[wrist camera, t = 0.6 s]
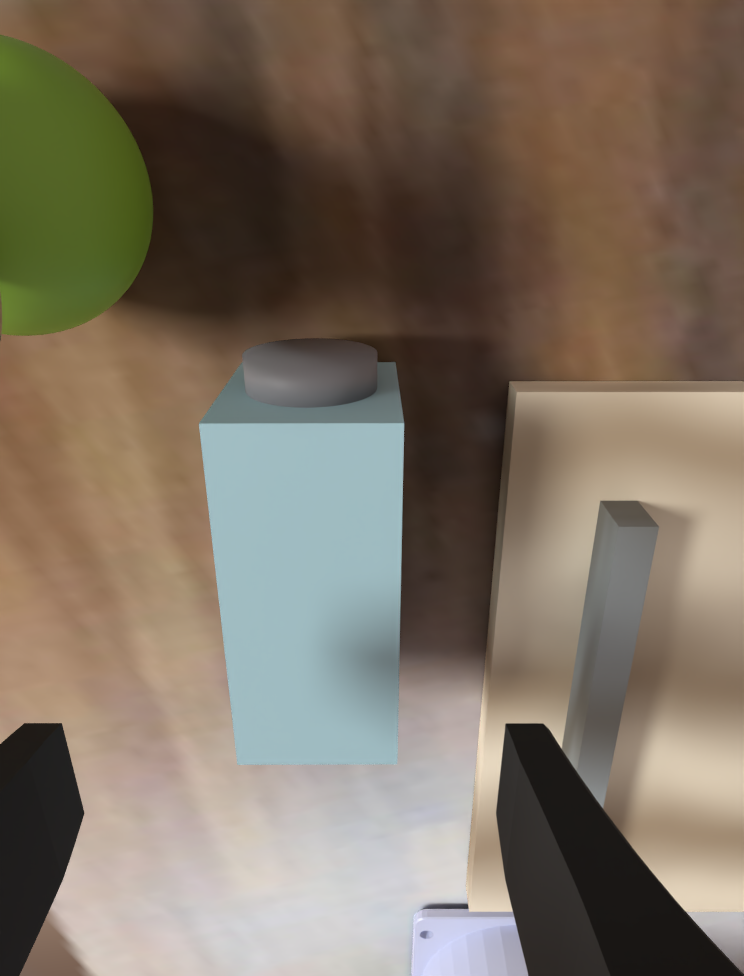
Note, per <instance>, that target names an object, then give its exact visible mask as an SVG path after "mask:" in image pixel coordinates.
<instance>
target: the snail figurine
mask: <svg viewBox="0 0 744 976" xmlns="http://www.w3.org/2000/svg"><path fill="white" fill-rule="evenodd" d="M152 226H153V199H152V191H151V185H150V180H149V176H148V172H147V169H146V166H145V163H144V160H143V157H142V154H141V152H140V150H139V147H138V145H137V143H136V141H135V139H134V137H133V135H132V133H131V132H130V130H129V128H128V127H127V125H126V123H125V122H124V120H123V119H122V117H121V116H120V115H119V113H118V112H117V111H116V109H115V108H114V107H113V105H112V104H111V103H110V102H109V101H108V99H107V98H106V97H105V96H104V95H103V94H102V93H101V92H100V91H99V90H98V89H97V88H96V87H95V86H94V85H93V84H92V83H91V82H90V81H89V80H88V79H86V78H85V77H84V76H83V75H82V74H80V73H79V72H78V71H76V70H75V69H74V68H72V67H71V66H70V65H68V64H67V63H65V62H64V61H62V60H60V59H59V58H57V57H55V56H54V55H52V54H50V53H48V52H46V51H44V50H42V49H40V48H38V47H36V46H33V45H31V44H29V43H26V42H23V41H20V40H18V39H14V38H11V37H7V36H3V35H0V340H1V334H7V335H22V336H29V335H43V334H50V333H56V332H60V331H64V330H67V329H71V328H74V327H76V326H79V325H81V324H83V323H86V322H88V321H90V320H92V319H93V318H95V317H97V316H98V315H100V314H101V313H103V312H104V311H106V310H107V309H108V308H110V307H111V306H112V305H113V304H114V303H115V302H116V301H118V300H119V298H120V297H121V296H122V295H123V294H124V293H125V292H126V291H127V289H128V288H129V287H130V286H131V284H132V283H133V281H134V280H135V278H136V276H137V275H138V273H139V271H140V269H141V267H142V265H143V262H144V260H145V257H146V254H147V251H148V248H149V244H150V240H151V234H152Z"/></svg>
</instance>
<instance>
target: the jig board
mask: <svg viewBox="0 0 744 976" xmlns="http://www.w3.org/2000/svg"><path fill="white" fill-rule="evenodd" d="M506 723H543V724H544V725H545V726H547V727H548V728H549V730H550V731H551V733H552V734H553V736H554V738H555V739H556V741H557V742H558V744H559V745H560V747H561V749H562V750H563V752H564V753H565V755H566V756H567V758H568V759H569V761H570V762H571V764H572V765H573V767H574V768H575V770H576V771H577V773H578V774H579V776H580V777H581V778H582V780H583V781H584V783H585V784H586V786H587V787H588V788H589V790H590V791H591V793H592V794H593V796H594V797H595V798H596V800H597V801H598V802H599V804H600V805H601V807H602V808H603V809H604V811H605V812H606V813H607V815H608V816H609V817H610V819H611V820H612V821H613V823H614V824H615V825H616V827H617V828H618V829H619V830H620V832H621V833H622V834H623V836H624V837H625V838H626V840H627V841H628V842H629V844H630V845H631V846H632V848H633V849H634V850H635V851H636V853H637V854H638V855H639V856H640V858H641V859H642V860H643V861H644V863H645V864H646V865H647V866H648V868H649V869H650V870H651V871H652V873H653V874H654V875H655V876H656V877H657V878H658V880H659V881H660V882H661V883H662V884H663V886H664V887H665V888H666V889H667V890H668V892H669V893H670V894H671V895H672V896H673V898H674V899H675V900H676V901H677V902H678V903H679V905H680V906H681V907H682V908H683V909H684V910H685V911H686V912H744V381H509V392H508V403H507V415H506V427H505V438H504V450H503V461H502V473H501V485H500V496H499V508H498V519H497V531H496V542H495V554H494V566H493V577H492V589H491V600H490V612H489V624H488V635H487V647H486V658H485V670H484V682H483V693H482V705H481V716H480V728H479V740H478V751H477V763H476V774H475V786H474V798H473V809H472V821H471V832H470V844H469V855H468V867H467V879H466V891H467V899H468V906H469V912H513V910H512V906H511V902H510V898H509V894H508V889H507V885H506V881H505V875H504V868H503V861H502V854H501V847H500V840H499V833H498V825H497V818H496V808H497V798H498V789H499V780H500V770H501V761H502V752H503V743H504V733H505V724H506Z"/></svg>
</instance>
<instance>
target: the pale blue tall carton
mask: <svg viewBox="0 0 744 976" xmlns="http://www.w3.org/2000/svg"><path fill="white" fill-rule="evenodd" d="M242 357H243V362H242V363H241V364H240V366H239V367H238V369H237V370H236V372H235V373H234V374H233V376H232V377H231V379H230V380H229V382H228V383H227V384H226V386H225V387H224V389H223V390H222V391H221V393H220V394H219V396H218V397H217V399H216V400H215V401H214V403H213V404H212V406H211V407H210V409H209V410H208V411H207V413H206V414H205V416H204V417H203V419H202V420H201V421H200V423H199V428H200V437H201V446H202V455H203V464H204V472H205V481H206V490H207V499H208V508H209V517H210V526H211V534H212V543H213V552H214V561H215V570H216V579H217V587H218V596H219V605H220V614H221V623H222V632H223V640H224V649H225V658H226V667H227V676H228V685H229V694H230V702H231V711H232V720H233V729H234V738H235V747H236V755H237V764H238V765H301V764H397V751H398V702H399V653H400V604H401V554H402V505H403V456H404V419H403V411H402V404H401V397H400V390H399V383H398V376H397V369H396V362H377V350H376V349H375V348H373V347H371V346H369V345H366V344H363V343H359V342H354V341H348V340H339V339H319V338H312V339H291V340H282V341H275V342H269V343H265V344H261V345H257V346H254V347H252V348H249V349H247V350H246V351H245V352H244V353H243V355H242Z"/></svg>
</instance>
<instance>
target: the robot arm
mask: <svg viewBox="0 0 744 976" xmlns="http://www.w3.org/2000/svg"><path fill="white" fill-rule="evenodd" d="M83 816H84V810H83V806H82V802H81V798H80V794H79V790H78V786H77V782H76V778H75V774H74V770H73V766H72V762H71V758H70V754H69V750H68V746H67V742H66V738H65V734H64V730H63V726H62V723H24V724H23V725H22V726H21V727H20V728H18V729H17V730H16V731H15V732H14V733H13V734H11V735H10V736H9V737H8V738H7V739H6V740H5V741H3V742H2V743H1V744H0V976H19V975H20V973H21V971H22V969H23V966H24V964H25V962H26V960H27V958H28V956H29V953H30V951H31V949H32V947H33V945H34V943H35V940H36V938H37V936H38V934H39V932H40V929H41V927H42V925H43V923H44V921H45V918H46V916H47V914H48V912H49V909H50V907H51V905H52V903H53V901H54V898H55V896H56V894H57V892H58V889H59V887H60V885H61V882H62V880H63V877H64V875H65V872H66V869H67V866H68V863H69V860H70V857H71V854H72V851H73V848H74V845H75V842H76V838H77V835H78V832H79V829H80V826H81V822H82V819H83ZM496 818H497V825H498V833H499V840H500V847H501V854H502V861H503V868H504V875H505V881H506V885H507V889H508V894H509V898H510V902H511V906H512V910H513V912H469V909H422V910H420V911H418V912H417V913H416V914H415V915H414V918H413V943H412V969H411V976H744V974H743V973H742V972H741V971H740V970H739V969H738V968H737V967H736V966H735V965H734V964H733V963H732V962H731V961H730V960H729V958H728V957H727V956H726V955H725V954H724V953H723V952H722V951H721V950H720V949H719V948H718V947H717V946H716V945H715V944H714V943H713V941H712V940H711V939H710V938H709V937H708V936H707V935H706V934H705V933H704V932H703V931H702V929H701V928H700V927H699V926H698V925H697V924H696V923H695V922H694V921H693V919H692V918H691V917H690V916H689V915H688V914H687V913H686V911H685V910H684V909H683V908H682V907H681V906H680V905H679V903H678V902H677V901H676V900H675V899H674V898H673V896H672V895H671V894H670V893H669V892H668V890H667V889H666V888H665V887H664V886H663V884H662V883H661V882H660V881H659V880H658V878H657V877H656V876H655V875H654V874H653V873H652V871H651V870H650V869H649V868H648V866H647V865H646V864H645V863H644V861H643V860H642V859H641V858H640V856H639V855H638V854H637V853H636V851H635V850H634V849H633V848H632V846H631V845H630V844H629V842H628V841H627V840H626V838H625V837H624V836H623V834H622V833H621V832H620V830H619V829H618V828H617V827H616V825H615V824H614V823H613V821H612V820H611V819H610V817H609V816H608V815H607V813H606V812H605V811H604V809H603V808H602V807H601V805H600V804H599V802H598V801H597V800H596V798H595V797H594V796H593V794H592V793H591V791H590V790H589V788H588V787H587V786H586V784H585V783H584V781H583V780H582V778H581V777H580V776H579V774H578V773H577V771H576V770H575V768H574V767H573V765H572V764H571V762H570V761H569V759H568V758H567V756H566V755H565V753H564V752H563V750H562V749H561V747H560V745H559V744H558V742H557V741H556V739H555V738H554V736H553V734H552V733H551V731H550V730H549V728H548V727H547V726H545V725H544V724H543V723H506V724H505V733H504V743H503V752H502V761H501V770H500V780H499V789H498V798H497V808H496Z"/></svg>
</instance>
